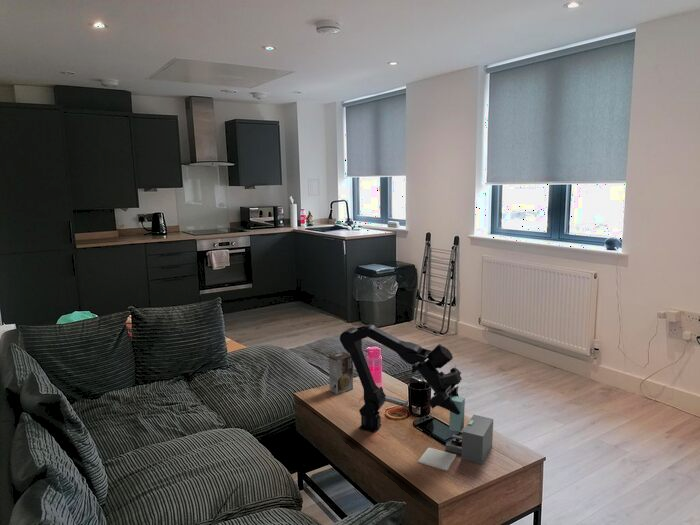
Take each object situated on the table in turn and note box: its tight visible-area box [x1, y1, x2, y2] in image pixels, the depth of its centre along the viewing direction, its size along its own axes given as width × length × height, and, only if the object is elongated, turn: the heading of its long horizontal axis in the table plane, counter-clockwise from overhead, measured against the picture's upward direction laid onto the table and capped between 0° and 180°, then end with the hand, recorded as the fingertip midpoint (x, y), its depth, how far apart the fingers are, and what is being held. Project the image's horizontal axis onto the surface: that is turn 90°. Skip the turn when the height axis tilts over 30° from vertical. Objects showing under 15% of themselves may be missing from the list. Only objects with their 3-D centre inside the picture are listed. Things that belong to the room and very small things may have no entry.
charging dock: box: [445, 414, 494, 466], centre depth 172 cm, size 14×14×10 cm
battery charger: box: [408, 375, 426, 385], centre depth 209 cm, size 7×4×11 cm, turn 37°
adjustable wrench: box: [385, 394, 409, 406], centre depth 212 cm, size 25×6×2 cm, turn 51°
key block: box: [448, 396, 466, 433], centre depth 173 cm, size 4×4×11 cm
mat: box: [417, 447, 457, 471], centre depth 167 cm, size 10×10×1 cm
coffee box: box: [328, 351, 354, 395], centre depth 223 cm, size 9×6×16 cm
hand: (461, 411), depth 172 cm, fingers closed on key block, 4 cm apart
